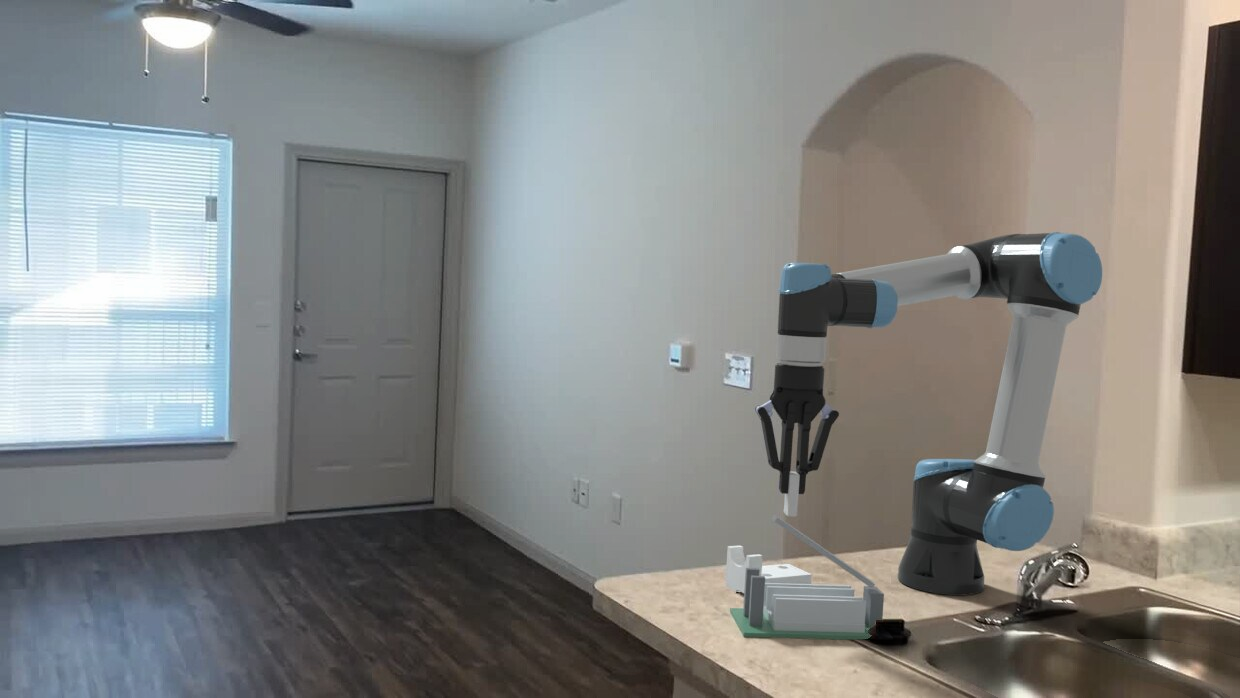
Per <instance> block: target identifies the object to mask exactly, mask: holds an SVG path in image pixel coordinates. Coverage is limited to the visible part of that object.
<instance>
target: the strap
mask: <svg viewBox="0 0 1240 698" xmlns="http://www.w3.org/2000/svg"><path fill="white" fill-rule="evenodd" d="M771 520H772V521H773V522H774V523H775V524H777V525H778V526H780V527H782V528H783V529H784V530H786V531H787V532H789V533H791V534H792V535H794V536H795V537H796V538H797V539H799V540H800V541H801V542H804V543H805V544H807V545H808V546H810V547H811V548H813V549H814V550H816V552H818V553H820V554H821V555H822V556H824V557H825V558H827V559H828V560H830V561H831V562H833V563H834V564H836V565H838V567H840V568H841V569H843V570H844V571H846V572H847V573H849V574H850V575H852V576H853V577H854V578H856V579H858V580H859V581H861V582H862V583H863V584H865V586H869V587H871V588H873V587H874V586H875V585H876V584H875V583H874V582H873V581H872V580H871V579H870V578H868V577H867V576H865V575H864V574H863V573H861V572H860V571H858V570H856V569H855V568H854V567H852V566H850V565H849V564H848V563H846V562H845V561H844V560H842V559H840V558H839V557H837V556H836V555H835V554H833V553H831V552H830V551H829V550H828V549H825V548H824V547H823V546H822V545H820V544H819V543H817V542H816V541H814V540H813V539H811V538H810V537H808V536H807V535H806V534H804V533H803V532H801V531H800V530H798V529H796V528H795V527H794V526H793V525H791V524H789V523H788V522H787V521H785V520H784V519H782V518H781V517H779V516H778V515H776V514H773V515H772V517H771Z"/></svg>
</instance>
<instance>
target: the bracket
mask: <svg viewBox="0 0 1240 698" xmlns="http://www.w3.org/2000/svg"><path fill="white" fill-rule="evenodd" d="M726 551H727V552H726V568H725V586H726V587H728V588H730V589H732V590H734V591H736V592H737V591H740V592H742V593H741V594H744V590H745V573H746V568H759V570H760V571H759V576H764V577H765V583H788V584H812V578H813V577H812V576H813V575H812V573H810V572H807V571H806V570H803V569H801V568H800V567H799V568H798V567H796V566H794V565H793V564H789V563H782V564H771V565H770V564H769V565H763V558H764V557H763V555H762V554H759V553H758V554H747V555H746V557H745V554H744V546H742V545H729V546H728V545H727V550H726ZM726 587H725V588H726Z"/></svg>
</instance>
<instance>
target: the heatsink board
mask: <svg viewBox="0 0 1240 698" xmlns="http://www.w3.org/2000/svg"><path fill="white" fill-rule="evenodd" d="M759 571H760V570H759V568H746V573H745V590H744V593H743V607H741V608H740V607H737V608H736V607H730V608H729V613H730V615H731V616H732V618H733V620H734V622H735V624H736V626H737V627H738V629H739V631H740V632H741V635H742V636H743V637H744V638H777V639H779V638H781V639H783V638H784V639H815V640H816V639H817V640H819V639H823V640H852V639H868V638H870V637H871V636H872V635H870V634H869V633H868V630H869V629H870V628H872V627H874V625H875V621H876V620H882V621H883V616H884V615H883V613H884V602H885V601H884V600H885V598H884V597H885V593H884V592H882V590H881V589H880V588H878V586H875V585H874V587H873V588H871V587H869V586H868V585H863V591H862V592H863V594H862V596H855V588H852V586H851V585H849V584H819V583H817V584H816V583H815V584H814V583H811V584H788V583H765V577H764V576H759Z"/></svg>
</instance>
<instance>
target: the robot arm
mask: <svg viewBox="0 0 1240 698" xmlns="http://www.w3.org/2000/svg"><path fill="white" fill-rule="evenodd" d="M1102 280H1103V265H1102V261H1101V257H1100V255H1099V253H1098V252H1096V247H1095V246H1094V245H1093V243H1092V242H1091V241H1089V240H1088V239H1087V238H1085V237H1083V236H1082V235H1080V234H1075V233H1068V232H1067V233H1065V232H1059V231H1054V232H1048V233H1047V232H1044V233H1027V234H1026V233H1023V234H1022V233H1010V234H1005V235H1000V236H996V237H993V238H988V239H985V240H980V241H976V242H974V243H973V242H972V243H968V244H964V245H959V246H955V247H953V248H951V249H950V250H949V251H948V252H947V253H946V254H945V253H944V254H940V255H935V256H929V257H928V256H927V257H924V258H917V259H912V260H905V261H900V262H894V263H889V264H882V265H876V266H872V267H871V266H870V267H865V268H859V269H854V270H848V271H843V272H842V271H841V272H836V273H834V274H832V268H831V266H830V265H828V264H822V263H812V262H809V263H807V262H788V263H786V264H785V265H784V266H783V267H782V270H781V276H780V282H779V289H778V293H779V299H778V316H777V317H778V320H777V335H776V336H777V337H776V338H777V339H776V348H775V349H776V351H775V359H776V360H778V361H779V362H778V363H776V365H774V379H773V380H774V381H773V391H772V393H771V395H769V400H768V401H767V402H765V403H763V404H762V405H756V406H755V408H754V410H755V413H756V414H757V416H758V417H759V419H760V422H761V427H762V435H763V440H764V444H765V445H764V446H765V451H766V458H767V462H768V465H769V466H770V467H771V468H772V469H774V470H776V471H778V472H779V482H778V490H779V493H781V494H784V502H783V504H784V505H783V513H784V514H785V515H786V516H787V517H798V507H799V495H804V494H805V493H806V492H805V491H806V479H807V475H808V474H809V473H810V472H812V471H817V470H818V469H819V468H820V464H821V461H822V460H823V459H822V458H823V455H824V451H825V448H826V445H827V442H828V438H829V436H830V432H831V429H832V425H834V424H835V422H836V420H838V418H839V417H840V412H839V411H838V410H836V409H833V408H832V407H830V406H829V405H828V404H826V398H825V395H824V382H825V381H824V380H825V368H824V366H823V365H822V363H825V362H826V353H827V352H826V350H827V349H826V348H827V336H828V335H827V334H828V327H833V326H834V327H835V326H836V327H850V328H854V327H855V328H867V329H873V328H885V327H887V326H889V325H890V324H891V323H892V322H893V321H894V319H895V318H896V315H897V312H898V307H900V306H901V307H902V306H906V305H913V304H919V303H922V302H923V303H924V302H928V301H932V300H939V299H944V298H949V297H954V296H955V297H956V298H958V299H960V300H971V299H975V298H976V299H977V298H990V299H991V298H992V299H1004V300H1006V304H1005V305H1006V307H1007V309H1008V310H1009V312H1010V313H1011V314H1012V321H1011V327H1010V332H1009V337H1008V343H1007V348H1006V351H1005V352H1006V353H1005V355H1004V357H1005V358H1004V362H1003V365H1002V372H1001V375H1000V376H1001V377H1000V382H999V385H998V391H997V396H996V401H995V406H994V409H993V410H994V411H993V415H992V419H991V425H990V429H989V434H988V439H987V445H986V450H985V452H984V453H983V454H982V455H980V456H979V457H978V458H975V459H966V458H959V459H958V458H928V459H927V458H926V459H921V460H920V461H918V463H917V464H916V466H915V472H914V477H913V481H912V482H913V488H912V491H913V492H912V508H911V525H910V538H909V541H908V543H907V546H906V548H905V550H904V553H903V556H902V557H901V560H900V562H899V564H898V573H897V580H898V581H899V582H900V583H901V584H904V585H905V586H908V587H910V588H913V589H916V590H919V591H923V592H928V593H931V594H932V593H933V594H934V593H935V594H939V595H952V596H969V595H970V596H971V595H976V594H979V593H982V592H983V591H984V590H985V575H984V569H983V567H982V562H981V559H980V554H979V551H978V544H977V543H978V541H980V542H983V543H986V544H988V545H990V546H991V547H993V548H996V549H997V548H998V549H1004V550H1007V551H1010V552H1023V551H1026V550H1028V549H1030V548H1033V547H1034V546H1035V544H1037V543H1039V542H1040V541H1042V540H1043V538H1044V537H1045V536H1046V535H1047V534H1048V532H1049V530H1050V528H1051V525H1052V523H1053V519H1054V513H1055V507H1054V502H1052V501H1051V500H1052V498H1051V497H1052V496H1051V495H1050V493H1049V492H1048V491H1046V489H1044V485H1045V479H1046V474H1045V473H1044V471H1043V470H1042V469H1041V467H1040V465H1039V462H1040V456H1041V451H1042V446H1043V442H1044V437H1045V432H1046V427H1047V421H1048V417H1049V412H1050V407H1051V403H1052V397H1053V393H1054V390H1055V389H1054V388H1055V383H1056V379H1057V374H1058V368H1059V364H1060V360H1061V353H1062V350H1063V343H1064V340H1065V335H1066V330H1067V327H1068V325H1069V324H1071V323H1072V322H1074V321H1075V320H1077V319H1078V318H1079V315H1080V309H1081V306H1082V305H1083V304H1085V303H1087V302H1089V301H1091V300H1092V299H1093V296H1096V295H1097V293H1099V290H1100V288H1101V285H1102V282H1103V281H1102ZM773 409H774V411H775V412H776V414H777V415H778V417H779V418H780V420H781V438H780V439H781V441H780V455H779V454H778V449H777V443H776V438H775V431H774V427H773V421H772V418H771V417H772V416H773V413H774V412H773ZM820 412H821V413H820ZM819 414H820V418H821V419H820V422H819V423H818V424H819V425H818V428H817V430H816V435H815V438H814V440H813V443H812V447H811V451H810V453H809V448H810V433H811V432H810V431H811V428H812V427H811V426H812V422H813V421H814V420H815V418H816V417H817V416H818V415H819ZM795 424H797V429H798V430H797V441H796V442H797V443H796V460H795V461H796V462H795V470H796V471H791V467H792V455H793V454H792V453H793V439H794V430H795Z"/></svg>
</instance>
